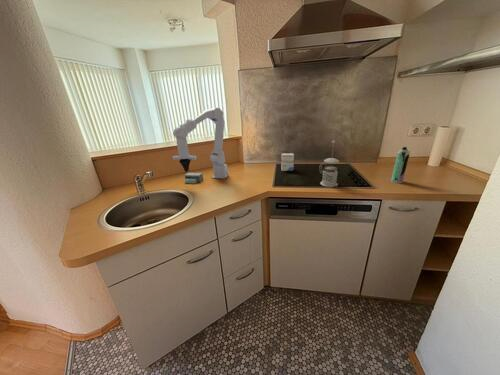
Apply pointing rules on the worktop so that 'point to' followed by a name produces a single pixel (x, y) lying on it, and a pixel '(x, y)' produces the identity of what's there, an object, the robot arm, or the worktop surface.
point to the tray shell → (191, 180)
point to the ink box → (287, 162)
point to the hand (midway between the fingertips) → (186, 171)
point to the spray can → (400, 165)
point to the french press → (331, 179)
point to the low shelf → (194, 175)
